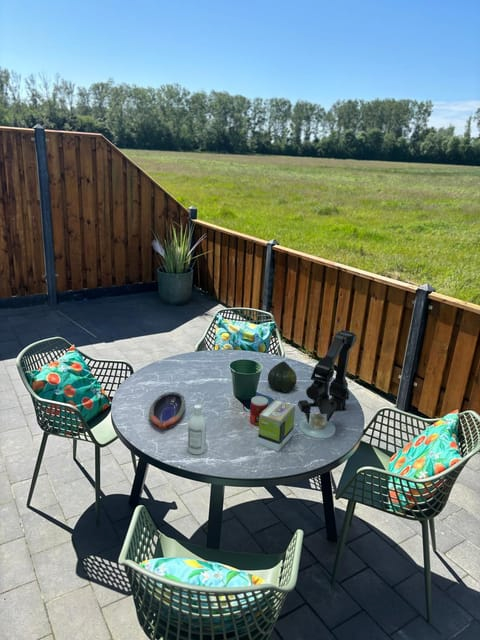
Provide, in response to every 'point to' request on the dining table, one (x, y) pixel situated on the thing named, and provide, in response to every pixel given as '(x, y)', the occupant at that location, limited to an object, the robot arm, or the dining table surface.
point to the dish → (167, 410)
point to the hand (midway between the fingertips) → (317, 421)
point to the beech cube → (318, 421)
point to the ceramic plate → (317, 434)
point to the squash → (282, 377)
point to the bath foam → (197, 432)
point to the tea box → (276, 425)
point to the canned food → (257, 408)
